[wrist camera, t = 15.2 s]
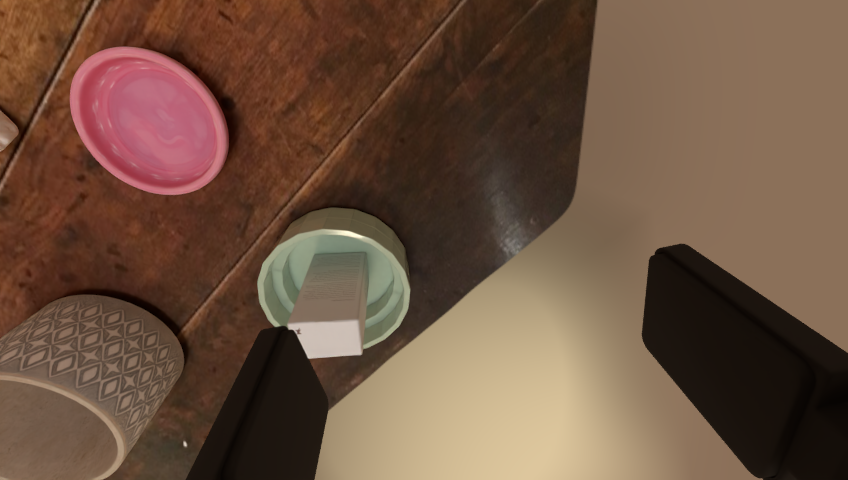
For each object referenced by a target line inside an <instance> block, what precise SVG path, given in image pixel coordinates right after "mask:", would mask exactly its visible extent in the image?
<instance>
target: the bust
mask: <svg viewBox="0 0 848 480" xmlns="http://www.w3.org/2000/svg"><path fill="white" fill-rule="evenodd" d="M18 133H19V130H18V127H17V126H16V125H15V124H14V123H13V122H12V121H11V120H10V119H9V118H8V117H7V116H6V115H5V114H4V113H3V112H2V111H1V110H0V151H2V150H4V149H5V148H6V147H7V146H8V145H9V144H10V143H11V142H12V141H13V140H14V138H15V137H16V136H17V135H18Z"/></svg>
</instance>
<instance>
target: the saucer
mask: <svg viewBox="0 0 848 480" xmlns="http://www.w3.org/2000/svg"><path fill="white" fill-rule="evenodd" d="M70 107H71V114H72V117H73V121H74V124H75V126H76V129H77V131H78V133H79V135H80V137H81V139H82V141H83V142H84V144H85V146H86V147H87V148H88V150H89V151H90V152H91V154H92V155H93V156H94V157H95V159H96V160H97V161H98V162H99V163H100V164H101V165H102V166H103V167H104V168H105V169H107V170H108V171H109V172H110V173H112V174H113V175H114V176H116V177H117V178H119V179H120V180H122V181H124V182H126V183H128V184H129V185H132V186H134V187H136V188H139V189H141V190H144V191H148V192H152V193H156V194H164V195H179V194H185V193H189V192H193V191H195V190H198V189H200V188H202V187H203V186H205V185H206V184H208V183H209V182H211V181H212V180H213V179H214V178H215V177H216V176H217V175H218V173H219V172H220V171H221V169H222V168H223V166H224V163H225V161H226V158H227V154H228V148H229V134H228V128H227V123H226V120H225V117H224V114H223V112H222V110H221V108H220V106H219V104H218V102H217V100H216V99H215V97H214V95H213V94H212V93H211V91H210V90H209V89H208V87H207V86H206V85H205V84H204V83H203V82H202V81H201V80H200V79H199V78H198V77H197V76H196V75H195V74H194V73H193V72H192V71H191V70H189V69H188V68H187V67H185V66H184V65H182V64H181V63H179V62H178V61H176V60H174V59H172V58H170V57H168V56H166V55H164V54H161V53H159V52H156V51H152V50H149V49H144V48H137V47H114V48H109V49H105V50H102V51H99V52H97V53H95V54H94V55H92V56H90V57H89V58H88V59H87V60H85V61H84V62H83V63H82V65H81V66H80V67H79V69H78V70H77V72H76V74H75V76H74V78H73V81H72V85H71V90H70Z"/></svg>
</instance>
